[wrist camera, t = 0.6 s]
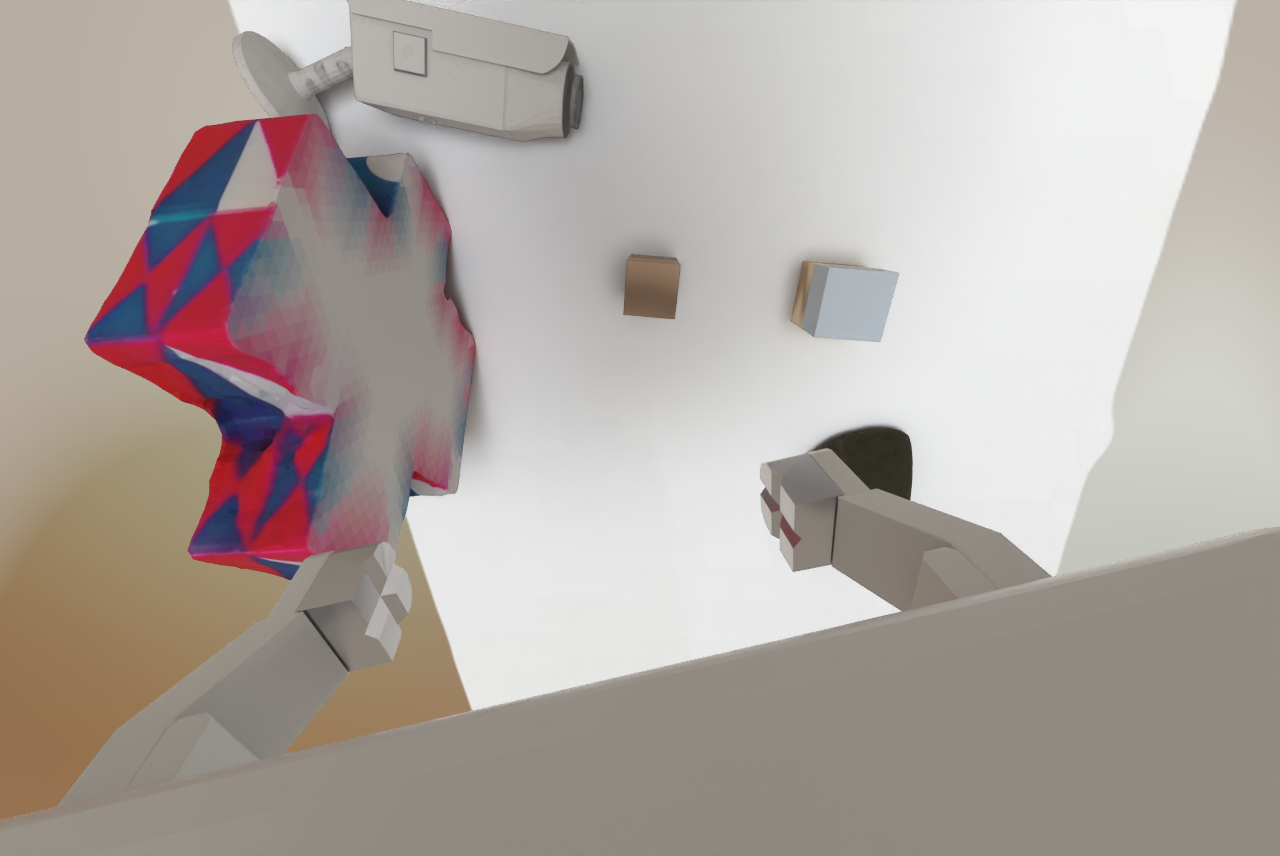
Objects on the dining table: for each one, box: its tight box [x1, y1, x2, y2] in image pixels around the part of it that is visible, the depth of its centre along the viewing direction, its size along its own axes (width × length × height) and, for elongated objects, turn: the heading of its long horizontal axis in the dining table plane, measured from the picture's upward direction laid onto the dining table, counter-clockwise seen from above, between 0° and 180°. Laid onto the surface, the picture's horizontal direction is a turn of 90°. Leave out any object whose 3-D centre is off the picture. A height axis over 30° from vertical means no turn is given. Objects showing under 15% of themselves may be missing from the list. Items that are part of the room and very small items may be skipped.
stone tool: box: [822, 428, 913, 500], centre depth 57 cm, size 18×8×10 cm
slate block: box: [802, 264, 899, 342], centre depth 44 cm, size 6×6×4 cm
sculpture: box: [84, 114, 475, 580], centre depth 37 cm, size 30×8×30 cm, turn 5°
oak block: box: [791, 261, 868, 328], centre depth 48 cm, size 6×6×4 cm
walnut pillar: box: [623, 254, 681, 319], centre depth 45 cm, size 4×4×9 cm
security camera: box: [232, 0, 583, 141], centre depth 40 cm, size 8×24×15 cm
